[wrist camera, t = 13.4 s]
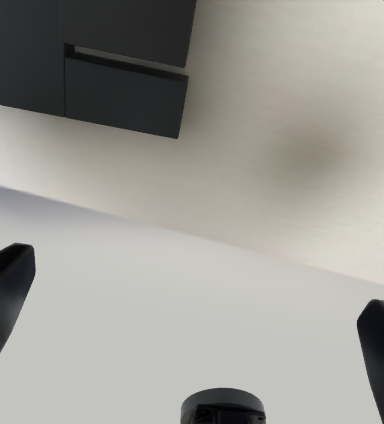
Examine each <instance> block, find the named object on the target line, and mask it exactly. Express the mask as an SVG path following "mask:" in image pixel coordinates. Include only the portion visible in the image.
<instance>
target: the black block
mask: <svg viewBox="0 0 384 424" xmlns="http://www.w3.org/2000/svg"><path fill="white" fill-rule="evenodd" d="M196 1H197V0H57V25H58V41H59V42H62V43H67V44H72V45H77V46H81V47H86V48H91V49H96V50H100V51H105V52H110V53H115V54H119V55H124V56H129V57H134V58H139V59H143V60H148V61H153V62H158V63H162V64H167V65H172V66H177V67H181V68H184V67H185V65H186V59H187V54H188V48H189V42H190V37H191V31H192V25H193V19H194V13H195V7H196Z"/></svg>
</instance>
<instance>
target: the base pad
mask: <svg viewBox="0 0 384 424" xmlns="http://www.w3.org/2000/svg"><path fill="white" fill-rule="evenodd" d="M188 79H189V77H188V76H186V75H181V74H176V73H172V72H167V71H162V70H157V69H153V68H148V67H143V66H139V65H134V64H129V63H124V62H120V61H115V60H110V59H105V58H101V57H96V56H91V55H86V54H82V53H77V52H75V53H74V45H72V44H67V43H62V42H59V41H58V25H57V0H0V105H3V106H8V107H13V108H19V109H24V110H29V111H34V112H39V113H44V114H50V115H55V116H60V117H66V118H70V119H76V120H81V121H86V122H91V123H96V124H101V125H107V126H112V127H117V128H122V129H127V130H132V131H138V132H143V133H148V134H153V135H158V136H163V137H169V138H174V139H178V136H179V130H180V125H181V119H182V113H183V108H184V102H185V97H186V91H187V86H188Z"/></svg>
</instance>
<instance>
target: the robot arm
mask: <svg viewBox="0 0 384 424" xmlns="http://www.w3.org/2000/svg"><path fill="white" fill-rule="evenodd" d="M35 271H36V270H35V256H34V248H33V246H31V245H28V244H22V243H14V244H12V245H10V246H8V247H6V248H4V249H2V250H0V352H1V351H2V349H3V347H4V345H5V343H6V342H7V340H8V338H9V336H10V334H11V332H12V329H13V327H14V325H15V323H16V320H17V318H18V315H19V313H20V311H21V308H22V306H23V303H24V301H25V299H26V296H27V294H28V291H29V289H30V287H31V284H32V282H33V280H34V276H35ZM357 330H358V334H359V339H360V343H361V348H362V352H363V357H364V361H365V366H366V370H367V375H368V378H369V382H370V386H371V389H372V392H373V395H374V398H375V401H376V404H377V407H378V411H379V414H380V417H381V420H382V423H383V424H384V300H376V299H373V300H371V301H370V302H369V303H368V304H367V306H366V307H365V309H364V310H363V312H362V313H361V315H360V316H359V318H358V320H357ZM265 419H266V416H265V412H263V411H256V410H248V409H240V408H231V407H223V406H215V405H207V404H197V405H196V406H195V408H194V410H193V413H192V415H191V418H190V420H189V423H188V424H263V422H264V421H265Z"/></svg>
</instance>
